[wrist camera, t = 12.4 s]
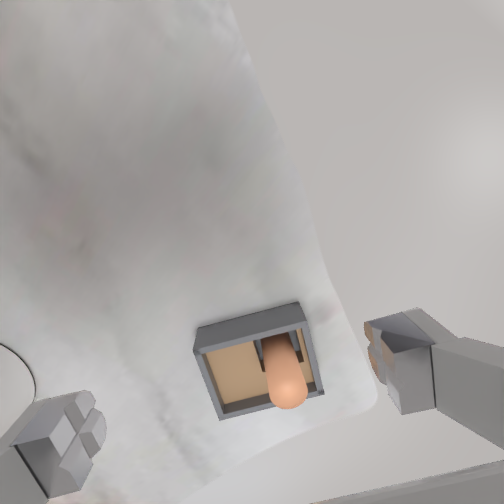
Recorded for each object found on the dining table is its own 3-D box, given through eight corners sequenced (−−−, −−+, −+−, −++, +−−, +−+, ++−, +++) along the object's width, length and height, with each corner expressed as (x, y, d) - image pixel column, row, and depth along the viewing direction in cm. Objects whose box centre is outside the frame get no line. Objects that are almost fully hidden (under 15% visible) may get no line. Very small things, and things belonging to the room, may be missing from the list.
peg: (264, 355, 41) (274, 412, 31) (257, 330, 40) (265, 382, 30) (292, 347, 41) (311, 403, 31) (286, 322, 40) (303, 372, 30)
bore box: (221, 392, 43) (219, 420, 39) (198, 328, 40) (192, 350, 35) (315, 368, 43) (324, 394, 38) (298, 301, 40) (306, 320, 35)
